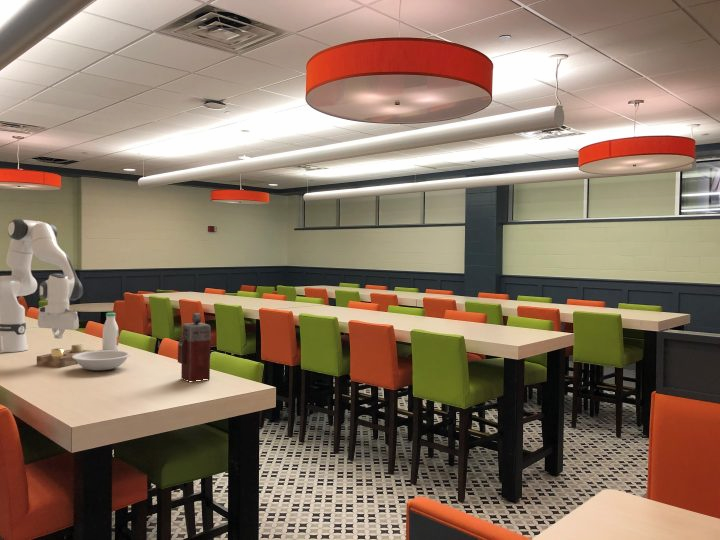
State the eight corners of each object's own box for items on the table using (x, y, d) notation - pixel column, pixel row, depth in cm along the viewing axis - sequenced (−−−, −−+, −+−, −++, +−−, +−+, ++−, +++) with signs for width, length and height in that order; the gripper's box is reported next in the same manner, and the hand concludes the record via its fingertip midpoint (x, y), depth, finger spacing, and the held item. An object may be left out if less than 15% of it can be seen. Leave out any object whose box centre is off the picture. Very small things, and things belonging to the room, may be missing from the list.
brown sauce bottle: (175, 379, 236) (176, 312, 235) (201, 376, 243) (202, 311, 243) (184, 383, 229) (185, 314, 229) (209, 379, 236) (211, 313, 236)
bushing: (57, 362, 264) (57, 347, 264) (66, 363, 262) (66, 348, 262) (48, 364, 259) (48, 349, 259) (57, 365, 258) (57, 350, 257)
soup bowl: (59, 371, 247) (59, 356, 247) (107, 362, 268) (107, 348, 268) (96, 377, 236) (96, 362, 236) (142, 368, 257) (142, 353, 257)
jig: (36, 365, 258) (36, 349, 258) (73, 357, 279) (73, 342, 279) (61, 367, 254) (62, 351, 254) (96, 359, 275) (96, 344, 275)
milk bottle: (114, 351, 296) (114, 313, 296) (99, 351, 297) (100, 313, 296) (120, 349, 304) (121, 312, 304) (106, 348, 304) (107, 312, 304)
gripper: (82, 309, 260) (82, 338, 261) (46, 307, 266) (46, 336, 266) (72, 310, 254) (71, 340, 255) (35, 308, 260) (35, 338, 260)
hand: (58, 338), depth 260 cm, fingers closed
